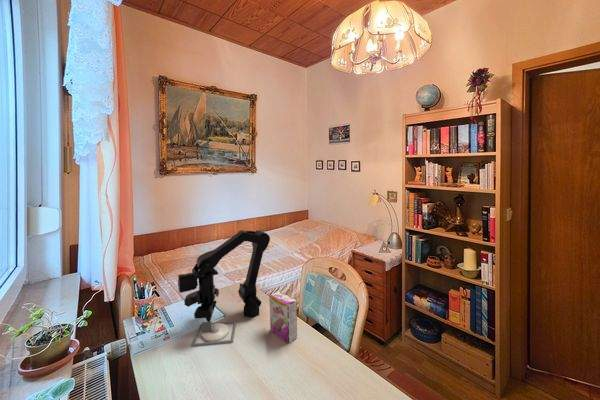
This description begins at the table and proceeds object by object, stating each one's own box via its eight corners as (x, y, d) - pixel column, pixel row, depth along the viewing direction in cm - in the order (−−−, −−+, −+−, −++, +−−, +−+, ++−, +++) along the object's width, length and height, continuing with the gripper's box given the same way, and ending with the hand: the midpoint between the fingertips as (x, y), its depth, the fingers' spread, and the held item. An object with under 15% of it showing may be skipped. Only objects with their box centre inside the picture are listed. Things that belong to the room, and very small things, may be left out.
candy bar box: (269, 331, 109) (268, 294, 107) (278, 326, 113) (278, 290, 110) (288, 344, 102) (288, 304, 99) (297, 338, 105) (297, 299, 103)
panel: (236, 324, 114) (236, 320, 114) (233, 345, 101) (232, 340, 101) (200, 327, 112) (200, 323, 112) (192, 349, 99) (191, 344, 99)
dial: (230, 324, 112) (229, 313, 111) (226, 340, 102) (226, 328, 102) (205, 327, 111) (204, 315, 110) (199, 343, 101) (198, 330, 100)
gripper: (191, 277, 116) (194, 310, 118) (178, 299, 98) (181, 337, 100) (218, 275, 117) (220, 308, 120) (209, 297, 99) (212, 335, 101)
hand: (208, 321), depth 110 cm, fingers closed
